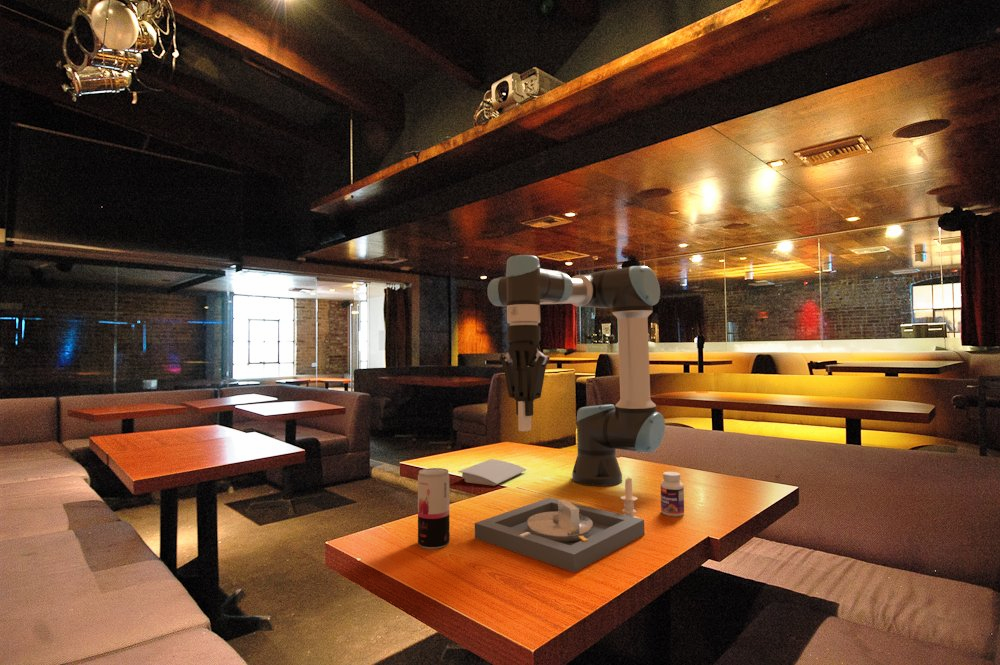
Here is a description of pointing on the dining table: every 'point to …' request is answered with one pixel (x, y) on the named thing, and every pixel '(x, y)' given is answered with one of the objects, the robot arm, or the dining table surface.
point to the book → (491, 472)
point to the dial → (561, 524)
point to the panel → (571, 556)
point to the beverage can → (433, 508)
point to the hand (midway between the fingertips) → (524, 430)
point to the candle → (629, 499)
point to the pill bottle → (672, 495)
